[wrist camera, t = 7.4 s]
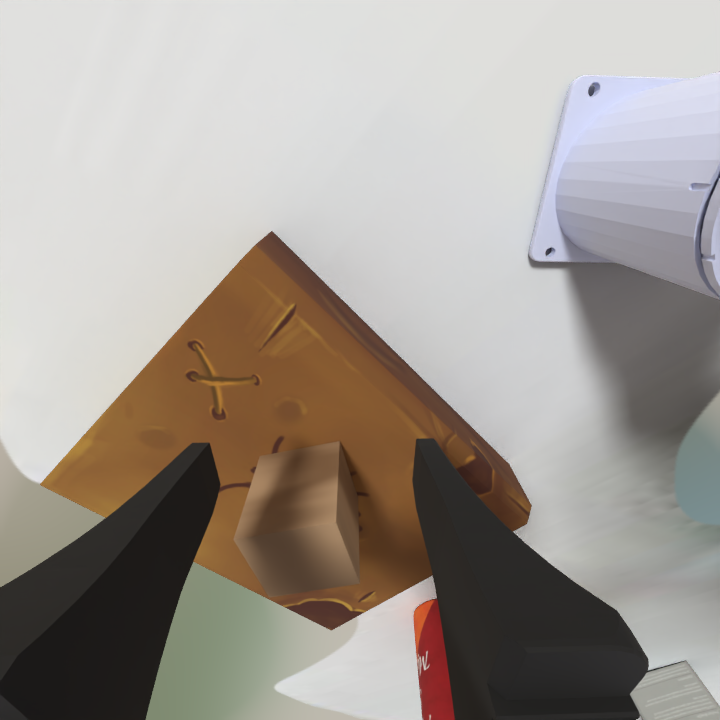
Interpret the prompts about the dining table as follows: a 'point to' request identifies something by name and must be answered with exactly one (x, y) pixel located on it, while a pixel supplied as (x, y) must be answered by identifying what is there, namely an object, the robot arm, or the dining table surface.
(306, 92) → the dining table surface
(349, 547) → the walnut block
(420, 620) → the paper cup
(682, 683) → the skincare box
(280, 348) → the diary
